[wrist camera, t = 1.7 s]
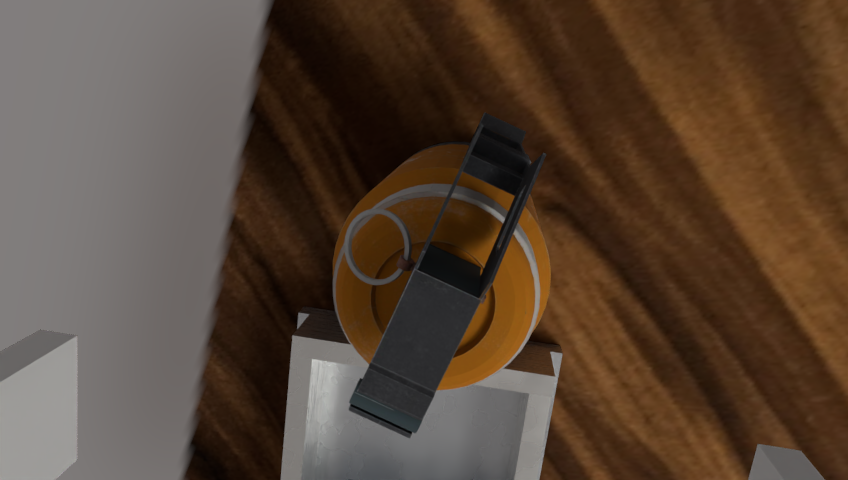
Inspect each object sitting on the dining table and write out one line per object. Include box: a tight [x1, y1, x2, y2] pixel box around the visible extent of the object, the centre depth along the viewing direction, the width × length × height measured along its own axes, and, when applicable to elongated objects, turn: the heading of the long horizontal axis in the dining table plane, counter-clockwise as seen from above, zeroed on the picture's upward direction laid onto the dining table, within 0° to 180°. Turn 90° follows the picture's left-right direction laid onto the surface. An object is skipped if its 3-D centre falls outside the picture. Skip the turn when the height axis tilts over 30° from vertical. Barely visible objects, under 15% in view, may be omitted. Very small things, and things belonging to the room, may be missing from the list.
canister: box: [333, 113, 551, 439], centre depth 30 cm, size 9×11×20 cm
